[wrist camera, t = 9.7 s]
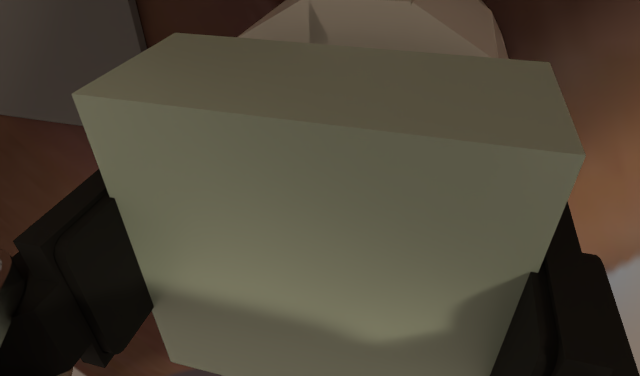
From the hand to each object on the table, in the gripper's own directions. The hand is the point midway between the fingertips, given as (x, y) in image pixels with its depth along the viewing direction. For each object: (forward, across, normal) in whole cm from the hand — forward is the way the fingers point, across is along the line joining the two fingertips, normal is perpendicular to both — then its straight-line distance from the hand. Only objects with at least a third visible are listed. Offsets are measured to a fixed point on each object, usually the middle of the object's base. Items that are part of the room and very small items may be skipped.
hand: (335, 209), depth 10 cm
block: (+1, 0, 0) cm, 1 cm away
